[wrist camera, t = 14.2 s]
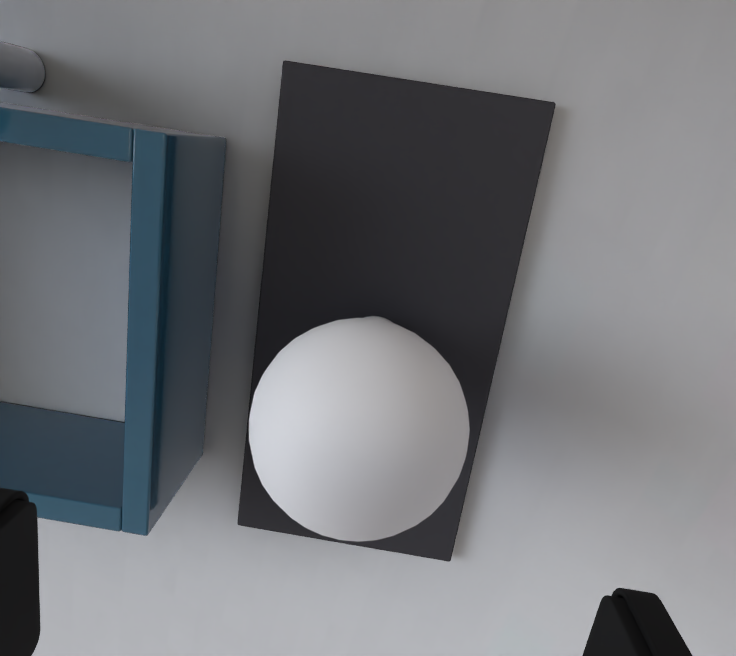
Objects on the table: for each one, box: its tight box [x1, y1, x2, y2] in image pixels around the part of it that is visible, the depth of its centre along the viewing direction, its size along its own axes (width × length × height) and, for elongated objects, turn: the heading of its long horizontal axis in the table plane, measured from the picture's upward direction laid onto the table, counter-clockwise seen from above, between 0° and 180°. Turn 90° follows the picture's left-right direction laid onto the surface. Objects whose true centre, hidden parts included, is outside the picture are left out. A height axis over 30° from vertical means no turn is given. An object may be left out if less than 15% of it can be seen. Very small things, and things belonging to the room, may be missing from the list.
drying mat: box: [238, 61, 555, 561], centre depth 24 cm, size 10×20×1 cm, turn 171°
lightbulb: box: [249, 316, 470, 542], centre depth 19 cm, size 6×6×11 cm
